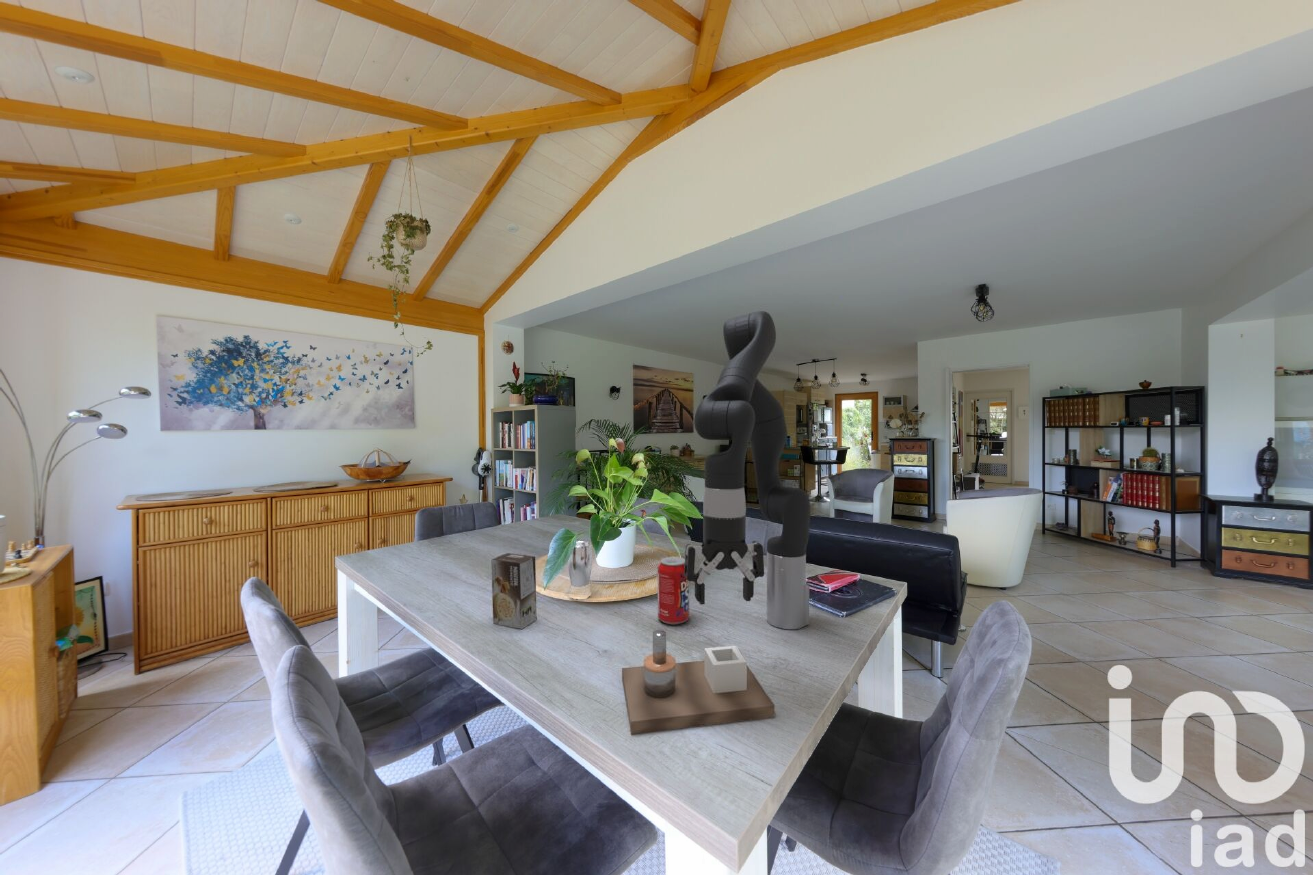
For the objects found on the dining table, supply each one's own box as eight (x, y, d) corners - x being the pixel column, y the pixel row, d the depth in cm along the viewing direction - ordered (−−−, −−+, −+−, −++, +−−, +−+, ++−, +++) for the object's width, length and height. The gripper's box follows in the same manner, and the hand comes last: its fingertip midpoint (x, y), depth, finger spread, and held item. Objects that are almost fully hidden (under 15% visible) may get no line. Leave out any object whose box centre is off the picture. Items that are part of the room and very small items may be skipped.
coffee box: (538, 619, 115) (537, 555, 114) (521, 629, 109) (520, 563, 108) (508, 613, 118) (507, 552, 118) (491, 623, 112) (490, 559, 112)
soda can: (652, 617, 116) (651, 558, 115) (678, 610, 119) (678, 553, 119) (668, 629, 109) (667, 566, 108) (695, 622, 113) (695, 561, 112)
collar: (735, 671, 86) (735, 645, 86) (746, 689, 80) (746, 661, 80) (704, 674, 85) (704, 648, 85) (713, 693, 80) (713, 665, 79)
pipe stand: (741, 666, 92) (741, 607, 92) (774, 717, 76) (774, 646, 76) (622, 678, 88) (621, 616, 88) (631, 733, 72) (630, 659, 72)
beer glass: (581, 602, 125) (580, 548, 125) (562, 597, 129) (561, 544, 128) (597, 594, 131) (597, 542, 131) (579, 589, 135) (578, 539, 134)
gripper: (754, 507, 87) (753, 591, 87) (681, 509, 85) (681, 596, 85) (770, 514, 80) (769, 607, 80) (690, 517, 77) (690, 612, 78)
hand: (724, 601), depth 83 cm, fingers open, 8 cm apart
